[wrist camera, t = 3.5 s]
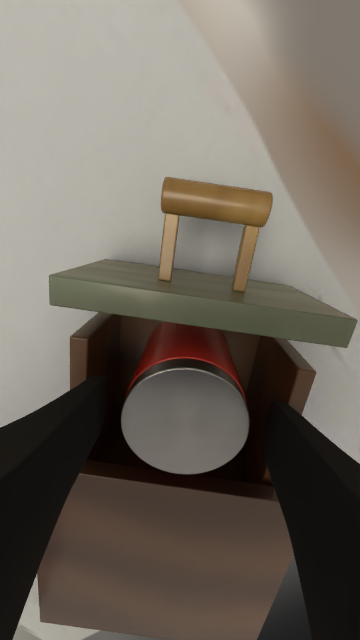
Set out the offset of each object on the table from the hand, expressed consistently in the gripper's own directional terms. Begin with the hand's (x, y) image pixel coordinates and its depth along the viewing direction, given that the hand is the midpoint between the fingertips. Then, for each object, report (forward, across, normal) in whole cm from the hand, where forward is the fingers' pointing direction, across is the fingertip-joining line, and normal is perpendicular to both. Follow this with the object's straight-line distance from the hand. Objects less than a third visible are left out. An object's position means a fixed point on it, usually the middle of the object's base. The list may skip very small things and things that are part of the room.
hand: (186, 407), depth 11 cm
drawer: (+7, 0, -1) cm, 7 cm away
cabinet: (+8, 0, +10) cm, 13 cm away
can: (+6, 0, 0) cm, 6 cm away
